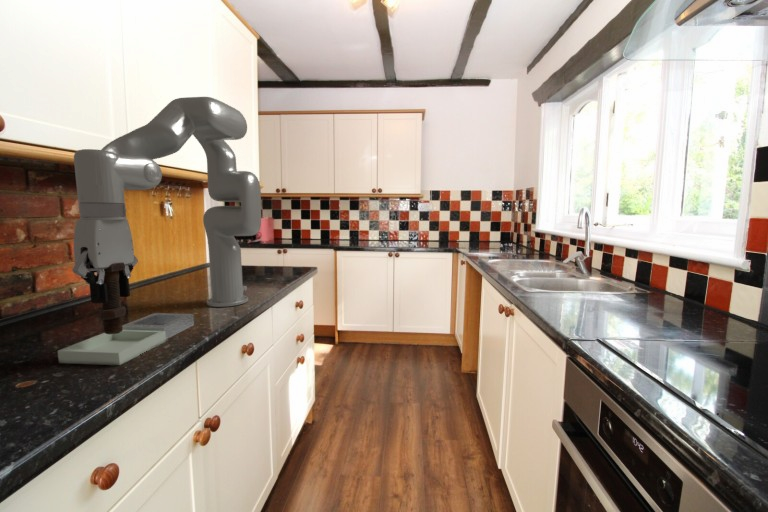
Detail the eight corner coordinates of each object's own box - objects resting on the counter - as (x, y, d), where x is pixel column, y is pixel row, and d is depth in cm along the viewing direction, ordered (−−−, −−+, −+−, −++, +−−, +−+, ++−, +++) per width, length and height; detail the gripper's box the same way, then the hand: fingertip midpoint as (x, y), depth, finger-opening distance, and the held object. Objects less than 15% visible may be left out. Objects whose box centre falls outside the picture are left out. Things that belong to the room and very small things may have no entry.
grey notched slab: (155, 323, 95) (154, 313, 95) (194, 325, 94) (193, 314, 94) (121, 338, 84) (120, 326, 84) (165, 339, 83) (164, 327, 83)
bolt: (110, 338, 72) (104, 264, 71) (90, 336, 73) (83, 264, 72) (135, 329, 78) (130, 261, 76) (116, 328, 79) (111, 261, 77)
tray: (114, 339, 83) (113, 329, 83) (166, 341, 82) (165, 330, 82) (58, 362, 70) (57, 350, 70) (119, 365, 69) (118, 352, 69)
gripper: (120, 212, 82) (127, 290, 84) (43, 212, 65) (54, 310, 67) (151, 212, 81) (157, 291, 83) (81, 212, 64) (91, 311, 66)
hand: (111, 298), depth 75 cm, fingers closed on bolt, 4 cm apart
